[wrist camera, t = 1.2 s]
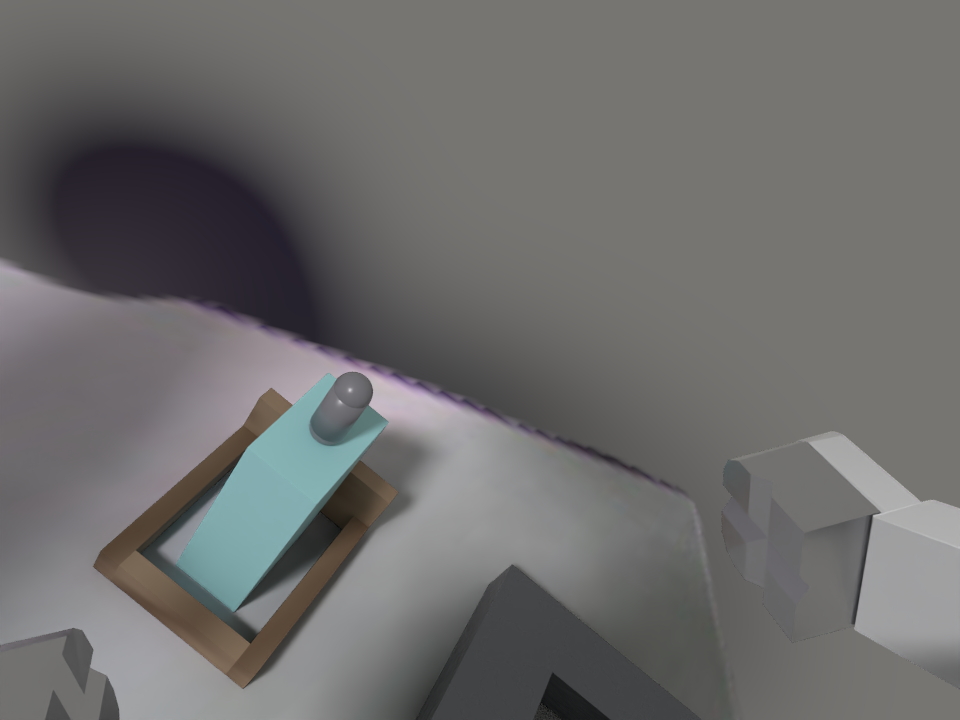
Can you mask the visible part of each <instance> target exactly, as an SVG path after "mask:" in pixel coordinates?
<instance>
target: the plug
mask: <svg viewBox="0 0 960 720" xmlns="http://www.w3.org/2000/svg"><path fill="white" fill-rule="evenodd" d="M372 395H373V389H372V385H371V383H370V381H369V380H368V378H367V377H366V376H364V375H363V374H361V373H358V372H348V373H345V374H343V375H341V376H340V377H338V379H336V378H335V377H333V376H332V375H331V374H330V373H328V374H327V375H326V376H324V377H323V378H322V379H321V380H320V381H319V382H318V383H317V384H316V385H315V386H314V387H312V388H311V389H310V390H309V391H308V392H307V393H306V394H305V395H304V396H303V397H302V398H301V399H299V400H298V401H297V402H296V403H295V404H294V405H293V406H292V407H291V408H290V409H289V410H287V411H286V412H285V413H284V414H283V415H282V416H281V417H280V418H279V419H278V420H277V421H276V422H274V423H273V424H272V425H271V426H270V427H269V428H268V429H267V430H266V431H265V432H264V433H262V434H261V435H260V436H259V437H258V438H257V439H256V440H255V441H254V442H253V443H252V444H251V445H249V446H248V447H247V449H246V450H245V452H244V454H243V455H242V457H241V459H240V460H239V462H238V463H237V465H236V467H235V468H234V470H233V472H232V473H231V475H230V477H229V478H228V480H227V481H226V483H225V485H224V486H223V488H222V490H221V491H220V493H219V495H218V496H217V498H216V499H215V501H214V503H213V504H212V506H211V508H210V509H209V511H208V513H207V514H206V516H205V517H204V519H203V521H202V522H201V524H200V526H199V527H198V529H197V531H196V532H195V534H194V535H193V537H192V539H191V540H190V542H189V544H188V545H187V547H186V549H185V550H184V552H183V553H182V555H181V557H180V558H179V560H178V562H177V563H176V566H178V567H179V568H180V569H181V570H182V571H184V572H185V573H186V574H187V575H189V576H190V577H191V578H192V579H193V580H195V581H196V582H197V583H198V584H200V585H201V586H202V587H203V588H204V589H206V590H207V591H208V592H209V593H211V594H212V595H213V596H214V597H216V598H217V599H218V600H219V601H220V602H222V603H223V604H224V605H225V606H227V607H228V608H229V609H230V610H231V611H233V612H235V611H236V610H237V608H238V607H239V606H240V605H241V604H242V603H243V601H244V600H245V599H246V598H247V597H248V596H249V594H250V593H251V592H252V591H253V590H254V589H255V587H256V586H257V585H258V584H259V583H260V582H261V581H262V579H263V578H264V577H265V576H266V575H267V574H268V572H269V571H270V570H271V569H272V568H273V567H274V565H275V564H276V563H277V562H278V561H279V560H280V559H281V557H282V556H283V555H284V554H285V553H286V552H287V550H288V549H289V548H290V547H291V546H292V545H293V543H294V542H295V541H296V540H297V539H298V538H299V537H300V535H301V534H302V533H303V532H304V531H305V530H306V528H307V527H308V526H309V524H310V523H311V522H312V521H313V519H314V518H315V517H316V515H317V514H318V513H319V512H320V510H321V509H322V508H323V506H324V505H325V504H326V503H327V501H328V500H329V499H330V497H331V496H332V495H333V494H334V492H335V491H336V490H337V488H338V487H339V486H340V485H341V483H342V482H343V481H344V479H345V478H346V477H347V476H348V474H349V473H350V472H351V470H352V469H353V468H354V467H355V465H356V464H357V463H358V461H359V460H360V459H361V458H362V456H363V455H364V454H365V452H366V451H367V450H368V449H369V447H370V446H371V445H372V443H373V442H374V441H375V440H376V438H377V437H378V436H379V434H380V433H381V432H382V431H383V429H384V428H385V427H386V425H387V424H388V423H389V422H388V421H387V420H386V419H385V418H383V417H382V416H381V415H380V414H378V413H377V412H376V411H375V410H374V409H372V408H371V407H370V406H369V405H368V404H369V403H370V401H371V399H372Z"/></svg>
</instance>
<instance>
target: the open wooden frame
mask: <svg viewBox="0 0 960 720" xmlns="http://www.w3.org/2000/svg"><path fill="white" fill-rule="evenodd" d="M292 406H293V405H292V404H291V403H289V402H288V401H287V400H286V399H284V398H283V397H282V396H281V395H280V394H278V393H277V392H276V391H275V390H273V389H272V388H270V389H269V390H268V391H267V392H266V393H265V394H263V395H262V396H261V397H260V398H259V400H258V402H257V403H256V405H255V407H254V408H253V410H252V412H251V413H250V415H249V417H248V419H247V420H246V422H245V424H244V425H243V426H242V427H241V428H240V429H239V430H238V431H236V432H235V433H234V434H233V435H232V436H231V437H230V438H228V439H227V440H226V441H225V442H224V443H223V444H222V445H221V446H219V447H218V448H217V449H216V450H215V451H214V452H213V453H211V454H210V455H209V456H208V457H207V458H206V459H205V460H203V461H202V462H201V463H200V464H199V465H198V466H197V467H196V468H194V469H193V470H192V471H191V472H190V473H189V474H188V475H186V476H185V477H184V478H183V479H182V480H181V481H180V482H178V483H177V484H176V485H175V486H174V487H173V488H172V489H170V490H169V491H168V492H167V493H166V494H165V495H164V496H163V497H161V498H160V499H159V500H158V501H157V502H156V503H155V504H153V505H152V506H151V507H150V508H149V509H148V510H147V511H145V512H144V513H143V514H142V515H141V516H140V517H139V518H138V519H136V520H135V521H134V522H133V523H132V524H131V525H130V526H128V527H127V528H126V529H125V530H124V531H123V532H122V533H120V534H119V535H118V536H117V537H116V538H115V539H114V540H113V541H111V542H110V543H109V544H108V545H107V546H106V547H105V548H103V549H102V550H101V552H100V554H99V556H98V558H97V560H96V562H95V564H94V566H93V567H94V568H95V569H97V570H98V571H99V572H100V573H102V574H103V575H104V576H105V577H106V578H108V579H109V580H110V581H111V582H113V583H114V584H115V585H116V586H117V587H119V588H120V589H121V590H122V591H124V592H125V593H126V594H127V595H129V596H130V597H131V598H132V599H133V600H135V601H136V602H137V603H138V604H140V605H141V606H142V607H143V608H144V609H146V610H147V611H148V612H149V613H151V614H152V615H153V616H154V617H156V618H157V619H158V620H159V621H160V622H162V623H163V624H164V625H165V626H167V627H168V628H169V629H170V630H171V631H173V632H174V633H175V634H176V635H178V636H179V637H180V638H181V639H182V640H184V641H185V642H186V643H187V644H189V645H190V646H191V647H192V648H194V649H195V650H196V651H197V652H198V653H200V654H201V655H202V656H203V657H205V658H206V659H207V660H208V661H209V662H211V663H212V664H213V665H214V666H216V667H217V668H218V669H219V670H221V671H222V672H223V673H224V674H225V675H227V676H228V677H229V678H230V679H232V680H233V681H234V682H235V683H236V684H238V685H239V686H240V687H241V688H244V687H245V686H246V685H247V684H248V683H249V682H250V680H251V679H252V678H253V677H254V676H255V675H256V673H257V672H258V671H259V670H260V668H261V667H262V666H263V664H264V663H265V662H266V660H267V659H268V658H269V657H270V655H271V654H272V653H273V651H274V650H275V649H276V647H277V646H278V645H279V644H280V642H281V641H282V640H283V638H284V637H285V636H286V634H287V633H288V632H289V631H290V629H291V628H292V627H293V625H294V624H295V623H296V621H297V620H298V619H299V618H300V616H301V615H302V614H303V612H304V611H305V610H306V608H307V607H308V606H309V605H310V603H311V602H312V601H313V599H314V598H315V597H316V595H317V594H318V593H319V592H320V590H321V589H322V588H323V586H324V585H325V584H326V582H327V581H328V580H329V579H330V577H331V576H332V575H333V573H334V572H335V571H336V570H337V568H338V567H339V566H340V564H341V563H342V562H343V560H344V559H345V558H346V557H347V555H348V554H349V553H350V551H351V550H352V549H353V547H354V546H355V545H356V544H357V542H358V541H359V540H360V538H361V537H362V536H363V534H364V533H365V532H366V531H367V529H368V528H369V527H370V526H371V524H372V523H373V522H374V521H375V520H376V519H377V518H378V516H379V515H380V514H381V513H382V512H383V511H384V510H385V508H386V507H387V506H388V505H389V504H390V503H391V501H392V500H393V499H394V497H395V496H396V495H397V493H398V491H397V490H396V489H394V488H393V487H392V486H391V485H389V484H388V483H387V482H386V481H385V480H383V479H382V478H381V477H380V476H378V475H377V474H376V473H375V472H374V471H372V470H371V469H370V468H369V467H367V466H366V465H365V464H364V463H363V462H361V461H360V460H359V461H358V463H357V464H356V465H355V467H354V468H353V469H352V470H351V472H350V473H349V474H348V476H347V477H346V478H345V479H344V481H343V482H342V483H341V485H340V486H339V487H338V488H337V490H336V491H335V492H334V494H333V495H332V496H331V497H330V499H329V500H328V501H327V503H326V504H325V505H324V506H323V508H322V509H321V510H320V512H322V513H323V514H324V515H325V516H326V517H328V518H329V519H330V520H331V521H333V522H334V523H335V524H336V525H337V526H339V527H340V528H341V529H342V531H341V532H340V533H339V534H338V536H337V537H336V538H335V539H334V541H333V542H332V543H331V544H330V545H329V547H328V548H327V549H326V550H325V552H324V553H323V554H322V555H321V557H320V558H319V559H318V560H317V562H316V563H315V564H314V565H313V567H312V568H311V569H310V570H309V572H308V573H307V574H306V575H305V576H304V578H303V579H302V580H301V581H300V583H299V584H298V585H297V586H296V588H295V589H294V590H293V591H292V593H291V594H290V595H289V596H288V598H287V599H286V600H285V601H284V602H283V604H282V605H281V606H280V607H279V609H278V610H277V611H276V612H275V614H274V615H273V616H272V617H271V619H270V620H269V621H268V622H267V624H266V625H265V626H264V627H263V628H262V630H261V631H260V632H259V633H258V635H257V636H256V637H255V638H254V640H253V641H252V642H251V643H249V642H248V641H246V640H245V639H244V638H243V637H242V636H240V635H239V634H238V633H237V632H235V631H234V630H233V629H232V628H230V627H229V626H228V625H227V624H226V623H224V622H223V621H222V620H221V619H219V618H218V617H217V616H216V615H215V614H213V613H212V612H211V611H210V610H208V609H207V608H206V607H205V606H204V605H202V604H201V603H200V602H199V601H197V600H196V599H195V598H194V597H192V596H191V595H190V594H189V593H188V592H186V591H185V590H184V589H183V588H181V587H180V586H179V585H178V584H177V583H175V582H174V581H173V580H172V579H170V578H169V577H168V576H167V575H166V574H164V573H163V572H162V571H161V570H159V569H158V568H157V567H156V566H154V565H153V564H152V563H151V562H150V561H148V560H147V559H146V558H145V557H143V556H142V555H141V554H140V553H142V552H143V551H144V550H145V549H146V548H147V547H148V546H149V545H150V544H151V543H152V542H153V541H154V540H156V539H157V538H158V537H159V536H160V535H161V534H162V533H163V532H164V531H165V530H166V529H167V528H168V527H170V526H171V525H172V524H173V523H174V522H175V521H176V520H177V519H178V518H179V517H180V516H181V515H182V514H183V513H185V512H186V511H187V510H188V509H189V508H190V507H191V506H192V505H193V504H194V503H195V502H196V501H197V500H199V499H200V498H201V497H202V496H203V495H204V494H205V493H206V492H207V491H208V490H209V489H210V488H211V487H212V486H214V485H215V484H216V483H217V482H218V481H219V480H220V479H221V478H222V477H223V476H224V475H225V474H226V473H228V472H229V471H230V470H231V469H232V468H233V467H234V466H235V465H236V464H237V463H238V462H239V460H240V459H241V457H242V455H243V454H244V452H245V450H246V449H247V447H248V446H249V445H251V444H252V443H253V442H254V441H255V440H256V439H257V438H258V437H259V436H260V435H261V434H262V433H264V432H265V431H266V430H267V429H268V428H269V427H270V426H271V425H272V424H273V423H274V422H276V421H277V420H278V419H279V418H280V417H281V416H282V415H283V414H284V413H285V412H286V411H287V410H289V409H290V408H291V407H292Z"/></svg>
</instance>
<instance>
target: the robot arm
mask: <svg viewBox="0 0 960 720" xmlns="http://www.w3.org/2000/svg"><path fill="white" fill-rule="evenodd" d="M723 486H724V487H725V488H726V489H727V490H728V492H729V493H730V494H731V495H732V497H731V499H730V500H729V502H728V503H727V504H726V506H725V507H724V509H723V510H722V534H723V537H724V541H725V545H726V549H727V552H728V554H729V556H730V558H731V560H732V562H733V564H734V566H735V567H736V569H737V570H738V571H739V573H740V574H741V576H742V577H743V578H744V580H746V581H748V582H751V583H753V584H755V585H757V586H759V587H762V588H764V595H763V605H764V607H765V608H766V609H767V610H768V612H769V613H770V615H771V616H772V617H773V618H774V620H775V621H776V622H777V624H778V625H779V626H780V628H781V629H782V630H783V632H784V633H785V634H786V636H787V637H788V638H789V640H790V641H791V642H792V643H794V642H798V641H801V640H805V639H808V638H812V637H816V636H820V635H823V634H827V633H831V632H835V631H839V630H842V629H846V628H850V627H854V626H855V628H854V630H856V631H857V632H859V633H861V634H863V635H864V636H866V637H868V638H870V639H872V640H873V641H875V642H877V643H878V644H880V645H882V646H884V647H885V648H887V649H889V650H891V651H893V652H894V653H896V654H898V655H900V656H901V657H903V658H905V659H907V660H908V661H910V662H912V663H914V664H915V665H917V666H919V667H921V668H923V669H924V670H926V671H928V672H930V673H931V674H933V675H935V676H937V677H938V678H940V679H942V680H944V681H945V682H947V683H949V684H951V685H952V686H954V687H956V688H958V689H960V508H956V507H954V506H951V505H948V504H945V503H941V502H938V501H935V500H929V501H925V502H921V501H919V500H918V499H917V498H916V497H915V496H914V495H913V494H911V493H910V492H909V491H908V490H907V489H905V488H904V487H903V486H902V485H901V484H900V483H899V482H897V481H896V480H895V479H894V478H893V477H892V476H890V475H889V474H888V473H887V472H886V471H885V470H883V469H882V468H881V467H880V466H879V465H878V464H876V463H875V462H874V461H873V460H872V459H871V458H870V457H868V456H867V455H866V454H865V453H864V452H863V451H861V450H860V449H859V448H858V447H857V446H856V445H855V444H853V443H852V442H851V441H850V440H849V439H847V438H846V437H845V436H844V435H842V434H840V433H837V432H834V431H831V432H827V433H824V434H820V435H816V436H813V437H809V438H806V439H802V440H798V441H797V442H795V443H789V444H786V445H782V446H778V447H774V448H771V449H767V450H763V451H759V452H756V453H752V454H748V455H744V456H740V457H737V458H733V459H729V460H728V461H727V463H726V465H725V468H724V474H723ZM92 654H93V648H92V646H91V645H90V643H89V641H88V639H87V638H86V636H85V634H84V632H83V631H82V630H79V629H75V628H72V629H68V630H63V631H59V632H55V633H51V634H46V635H42V636H38V637H33V638H29V639H25V640H21V641H16V642H12V643H8V644H4V645H0V720H120V719H119V707H118V704H117V700H116V696H115V693H114V690H113V688H112V685H111V683H110V681H109V679H108V677H107V676H106V675H104V674H102V673H100V672H98V671H96V670H93V669H91V668H90V664H91V659H92Z"/></svg>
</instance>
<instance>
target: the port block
mask: <svg viewBox="0 0 960 720" xmlns="http://www.w3.org/2000/svg"><path fill="white" fill-rule="evenodd" d="M540 702H542V703H543V704H544V705H545V706H547V707H548V708H549V709H550V710H551V711H553V712H554V713H555V714H556V715H558V716H559V717H560V718H561V719H562V720H701V719H700V718H699V717H698V716H696V715H695V714H694V713H693V712H692V711H690V710H689V709H688V708H687V707H685V706H684V705H683V704H682V703H681V702H679V701H678V700H677V699H676V698H674V697H673V696H672V695H671V694H670V693H668V692H667V691H666V690H665V689H663V688H662V687H661V686H660V685H659V684H657V683H656V682H655V681H654V680H652V679H651V678H650V677H649V676H648V675H646V674H645V673H644V672H643V671H642V670H640V669H639V668H638V667H637V666H635V665H634V664H633V663H632V662H631V661H629V660H628V659H627V658H626V657H624V656H623V655H622V654H621V653H620V652H618V651H617V650H616V649H615V648H613V647H612V646H611V645H610V644H609V643H607V642H606V641H605V640H604V639H602V638H601V637H600V636H599V635H598V634H596V633H595V632H594V631H593V630H591V629H590V628H589V627H588V626H587V625H585V624H584V623H583V622H582V621H580V620H579V619H578V618H577V617H576V616H574V615H573V614H572V613H571V612H569V611H568V610H567V609H566V608H565V607H563V606H562V605H561V604H560V603H559V602H557V601H556V600H555V599H554V598H552V597H551V596H550V595H549V594H548V593H546V592H545V591H544V590H543V589H541V588H540V587H539V586H538V585H537V584H535V583H534V582H533V581H532V580H530V579H529V578H528V577H527V576H526V575H524V574H523V573H522V572H521V571H519V570H518V569H517V568H516V567H515V566H513V565H511V566H510V567H509V568H508V569H506V570H505V571H504V572H503V573H502V574H501V575H499V576H498V577H497V578H496V579H495V580H494V581H493V582H491V583H490V584H489V585H488V587H487V589H486V591H485V593H484V595H483V597H482V598H481V600H480V602H479V604H478V606H477V608H476V609H475V611H474V613H473V615H472V617H471V619H470V621H469V622H468V624H467V626H466V628H465V630H464V632H463V634H462V635H461V637H460V639H459V641H458V643H457V645H456V647H455V648H454V650H453V652H452V654H451V656H450V658H449V659H448V661H447V663H446V665H445V667H444V669H443V671H442V672H441V674H440V676H439V678H438V680H437V682H436V684H435V685H434V687H433V689H432V691H431V693H430V695H429V697H428V698H427V700H426V702H425V704H424V706H423V708H422V709H421V711H420V713H419V715H418V717H417V719H416V720H533V719H534V717H535V714H536V712H537V709H538V707H539V704H540Z"/></svg>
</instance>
